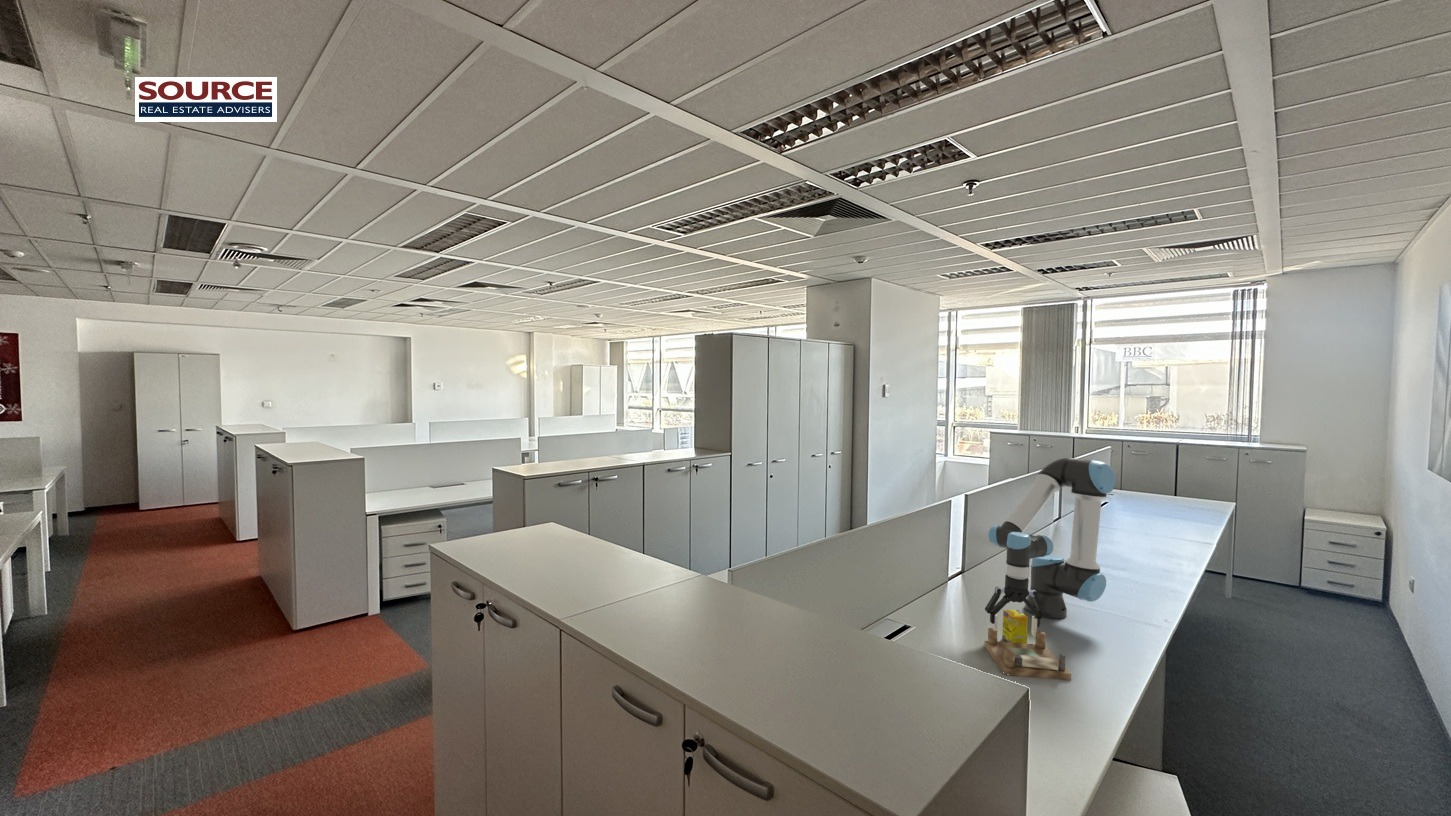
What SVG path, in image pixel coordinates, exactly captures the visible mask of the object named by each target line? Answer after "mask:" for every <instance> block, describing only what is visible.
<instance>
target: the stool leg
mask: <svg viewBox="0 0 1451 816" xmlns="http://www.w3.org/2000/svg"><path fill="white" fill-rule="evenodd" d="M1058 663H1059V662H1058V661H1057V660H1056V659H1054V658H1044V657H1035V656H1025V655H1017V654H1015V666H1025V667H1034V668H1044V669H1053V670H1058Z"/></svg>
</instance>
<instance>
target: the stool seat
mask: <svg viewBox="0 0 1451 816" xmlns="http://www.w3.org/2000/svg"><path fill="white" fill-rule="evenodd" d="M998 633H999V632H998V628H997V629H994V628H992V627H989V628H987V640H984V644H983V645H984V649H986V651H987V653H989V655H990V656H991V658H992V659H993V661H994V662H995V663H996V665H997V666H998V667H999V669H1000V670H1001V672H1002V671H1003V672H1004V673H1003V672H1002V673H1003V674H1004V675H1005V676H1007V675H1006V674H1009V675H1008V676H1012V675H1014V676H1016V677H1027V678H1028V677H1029V678H1040V679H1041V678H1042V679H1055V680H1066V681H1067V680H1068V681H1072V673H1071V672H1070V670H1069V669H1067V667H1066V659H1067V657H1066V654H1064V653H1059V654H1058V658H1057V657H1056V656H1055V655H1054V654H1053V653H1052V651H1050V650H1049V648H1048V647H1047V646H1046V638H1047V637H1046V636H1047V633H1046V632H1045V631H1040V630H1037V631H1036V637H1035V643H1027V644H1024V643H1010V642H1006V641H998ZM1015 654H1017V655H1025V656H1035V657H1044V658H1054V659H1056V660H1057V661H1058V662H1059V663H1058V670H1053V669H1044V668H1034V667H1025V666H1015Z"/></svg>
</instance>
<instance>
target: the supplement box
mask: <svg viewBox="0 0 1451 816" xmlns="http://www.w3.org/2000/svg"><path fill="white" fill-rule="evenodd" d="M1002 616H1003V617H1002V632H1001V633H1002V635H1001V637H1002V639H1003V641H1004V642H1010V643H1024V644H1028V643H1027V642H1028V623H1029V617H1028V615H1025V614H1024V613H1023V612H1022V611H1020V610H1019V609H1004V610H1003V613H1002ZM1002 639H1001V640H1002Z"/></svg>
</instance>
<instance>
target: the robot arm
mask: <svg viewBox="0 0 1451 816" xmlns="http://www.w3.org/2000/svg"><path fill="white" fill-rule="evenodd" d="M1115 486H1116V476H1115V473H1114V469H1113V468H1112V466H1111V465H1109V463H1106V462H1104V461H1099V460H1092V459H1081V458H1074V457H1061V458H1058V459H1056V460H1054V461H1052V462H1049V463H1048V464H1047V465H1046V466H1044V467H1043V468H1041V470H1040V471H1039V472H1038V473H1037V475H1035V482H1034V483H1033V484H1032V485H1031V487H1030V488H1029V490H1028V491H1027V492H1026V493H1025V494H1024V496H1023V497H1022V499H1021V500H1020V501H1019V503H1018V504H1017V505H1016V506H1015V508H1014V509H1013V510H1012V512H1011V513H1010V514H1009V515H1008V517H1007V518H1006V520H1005V521H1004V522H1003V523H1002V524H1001V525H993V526H991V527H990V529H989V531H988V533H987V534H988V541H989V542H990V543H991V544H993V545H994V546H997V547H1000V548H1005V549H1006V562H1005V577H1004V578H1005V579H1004V587H1003V588H1001V587H999V586H995V588H994V593H993V595H991V597H990V600H989V601H988V603H987V605H985V608H984V611H985V612H986V613H987V614H989V623H991V625H992V626H991V628H994V629H997V630H998V618H999V616H998V615H997V614H998V613H999V612H1000V611H1001V610H1002V609H1003V608H1004V607H1005V606H1006V605H1007V604H1009V603H1010V602H1012V603H1024V609H1025V610H1026V611H1028V612H1029V613H1031V614H1033V615H1032V616H1031V629H1030V630H1031V632H1030V634H1031V635H1032V636H1033V637H1035V638H1036V631H1038V628H1039V627H1040V624H1041V620H1042V618H1047V619H1064V618H1066V617H1067V615H1068V609H1067V606H1066V602H1065V599H1064V596H1063V595H1064V594H1065V595H1068V596H1070V597H1074V598H1077V599H1078V600H1083V601H1086V602H1095V601H1097V600H1099V599H1100V598H1101V597H1102V596H1103V594H1104V592H1105V591H1106V587H1107V578H1106V576H1105V575H1104V574H1103V573H1101V566H1100V565H1099V563H1097V557H1098V543H1099V542H1098V541H1099V533H1100V532H1099V529H1100V521H1101V520H1100V519H1101V511H1102V509H1101V508H1102V501H1103V500H1105V499H1106V498H1107V494H1110V493H1112V492H1113V490H1114V488H1115ZM1063 487H1070V488H1071V490H1070V491H1071V495H1073V496H1074V497H1075V498H1074V509H1073V518H1072V519H1073V520H1072V521H1073V522H1072V531H1071V532H1072V533H1071V543H1070V545H1071V546H1070V553H1069V554H1070V556H1069V557H1068V558H1067V559H1065V558H1064V557H1062V556H1060V555H1053V554H1052V553H1053V551H1054V543H1053V541H1052V539H1050V537H1048V536H1047V535H1040V534H1037V535H1034V534H1033V535H1032V534H1031V533H1030V534H1029V533H1026V532H1025V531H1026V530H1027V528H1028V527H1029V526H1030V524H1032V522H1033V520H1035V518H1036V517H1037V515H1038V514H1039V512H1040V511H1041V510H1042V508H1044V506H1045V505H1046V503H1047V502H1048V501H1049V500H1050V498H1051V497H1052V495H1053V494H1054V493H1057V492H1059V491H1060V490H1061V488H1063ZM1030 560H1031V564H1030ZM1030 567H1031V568H1030ZM1029 577H1030V590H1029ZM1003 593H1004V595H1003ZM1001 595H1003V596H1002V598H1001ZM1000 598H1001V599H1000ZM999 599H1000V600H999Z"/></svg>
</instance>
